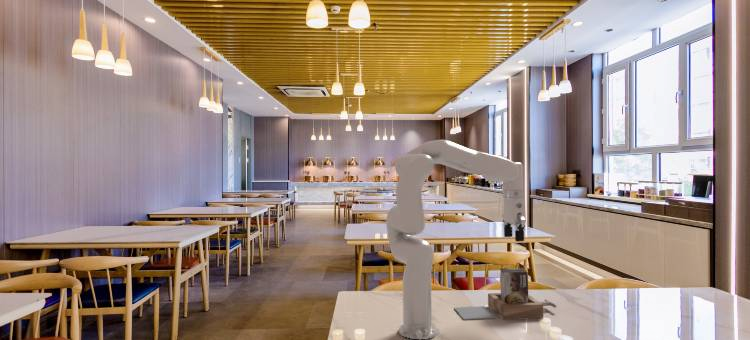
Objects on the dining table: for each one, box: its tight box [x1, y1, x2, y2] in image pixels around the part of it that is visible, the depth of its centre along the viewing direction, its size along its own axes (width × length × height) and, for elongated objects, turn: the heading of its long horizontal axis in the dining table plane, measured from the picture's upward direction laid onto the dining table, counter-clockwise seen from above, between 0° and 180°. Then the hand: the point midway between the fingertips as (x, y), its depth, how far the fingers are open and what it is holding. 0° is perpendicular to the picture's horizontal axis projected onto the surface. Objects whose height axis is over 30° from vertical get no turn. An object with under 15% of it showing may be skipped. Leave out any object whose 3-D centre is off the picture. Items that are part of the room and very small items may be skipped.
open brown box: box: [487, 292, 557, 320], centre depth 153 cm, size 15×23×5 cm, turn 96°
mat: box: [453, 305, 497, 321], centre depth 151 cm, size 12×12×1 cm
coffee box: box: [500, 267, 529, 304], centre depth 152 cm, size 9×6×16 cm
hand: (513, 238), depth 152 cm, fingers open, 9 cm apart
